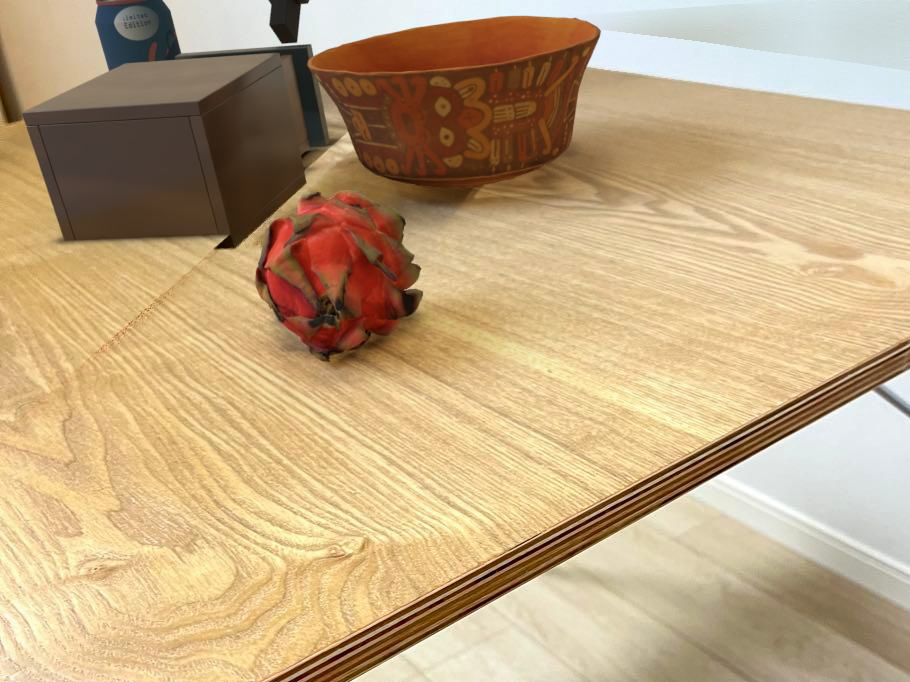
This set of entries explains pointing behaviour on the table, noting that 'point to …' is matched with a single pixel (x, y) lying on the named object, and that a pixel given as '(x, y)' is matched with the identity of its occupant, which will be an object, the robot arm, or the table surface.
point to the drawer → (291, 89)
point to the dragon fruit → (338, 272)
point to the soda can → (136, 31)
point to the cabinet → (170, 149)
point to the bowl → (460, 97)
